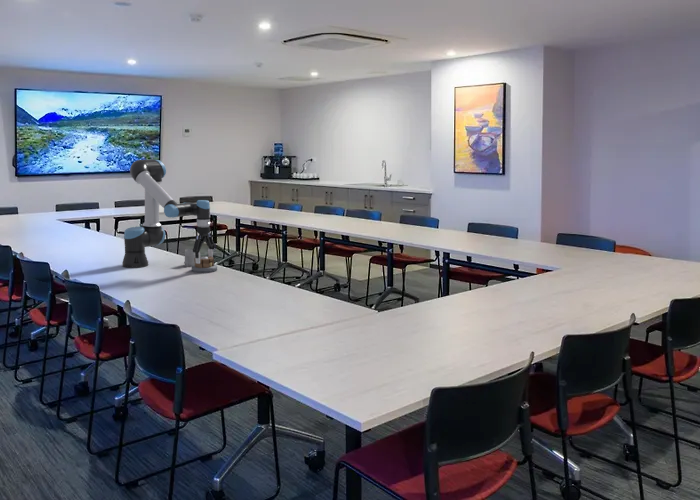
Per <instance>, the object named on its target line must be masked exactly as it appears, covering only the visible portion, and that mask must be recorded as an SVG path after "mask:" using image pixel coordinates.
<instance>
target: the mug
mask: <svg viewBox="0 0 700 500" xmlns="http://www.w3.org/2000/svg"><path fill="white" fill-rule="evenodd" d="M199 253H200V254H201V252H200V251H199ZM183 256H184V263H183V264H184V267H192V266H193V265H195V263H194V258H195V253H194V252H193V248H186V249H184V255H183Z"/></svg>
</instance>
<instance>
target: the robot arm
mask: <svg viewBox="0 0 700 500" xmlns="http://www.w3.org/2000/svg"><path fill="white" fill-rule="evenodd" d="M129 173H130V175H131V177H132V179H133V180H134V181H135V183H136V184H137V185H141V186H142V187H143V188H144V222H143V223H142V224H141V226H133V227H129V228H126V229H125V230H124V235H123V238H124V239H123V240H124V241H123V242H124V256H123V260H122V261H121V263H122V264H121V265H122V267H123V268H131V269H132V268H144V267H148V266H149V260H148V257H147V254H146V248H149V247H155V246H159V245H161V244H162V243H164V241H165V240H166V231H165V229H164V228H163V226H162V224H161V223H160V206H161V207H162V209H163V213H164V216H166V217H167V218H180V217H186V216H187V217H188V216H195V217H196V226H197V227H196V232H197V233H198V235H195V240H194V245H193V248H192V249H193V252H194V253H195V258H196V263H197V264H200V257H201V252H200V251H201V248H202V246H203V244H204V243H205V244H206V246H207V256H208V257H213V258H214V255H213V254H214V253H213V250H214V249H215V247H216V246H215V243H214V239H213V235H212V233H211V227H210V226H211V213H210V212H211V206H210V201H209V200H208V199H207V200H206V199H198V200H196V202H189V201H186V202H183V203H178V202H177V201H175V200H174V198H173V197H172V196H171V195H170V194H169V193H167V191H166V190H165V189H164V188H163V187H162V186H161V185H160V184H162V182H163V178H164V177H165V176H166V175H167V168H166V165H165V164H164V163H163V162H162V160H159V159H154V158H153V159H151V158H150V159H138V160H135V161H133V163H132V164H131V166H130V168H129ZM199 252H200V253H199Z"/></svg>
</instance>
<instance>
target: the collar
mask: <svg viewBox="0 0 700 500" xmlns="http://www.w3.org/2000/svg"><path fill="white" fill-rule="evenodd" d="M201 257H208V255H207V256H205V255H204V256H201ZM210 262H211V263H212V266H214V265H215V258H214V256H213V257H208V259H200V264H197V263H196V258H194V263H195V267H197V268H209V263H210Z"/></svg>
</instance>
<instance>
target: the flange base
mask: <svg viewBox="0 0 700 500" xmlns="http://www.w3.org/2000/svg"><path fill="white" fill-rule="evenodd" d="M200 259H208V257H206V256H205V257H202V256H200ZM217 271H218V265H217V264H214V266H212V263H211V262H210V263H209V268H197V267H195V265H193V266H191V272H193V273H201V274H204V273H205V274H206V273H207V274H208V273H214V272H217Z"/></svg>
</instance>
